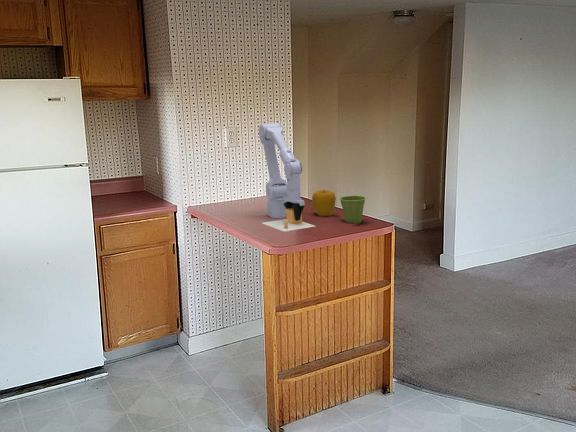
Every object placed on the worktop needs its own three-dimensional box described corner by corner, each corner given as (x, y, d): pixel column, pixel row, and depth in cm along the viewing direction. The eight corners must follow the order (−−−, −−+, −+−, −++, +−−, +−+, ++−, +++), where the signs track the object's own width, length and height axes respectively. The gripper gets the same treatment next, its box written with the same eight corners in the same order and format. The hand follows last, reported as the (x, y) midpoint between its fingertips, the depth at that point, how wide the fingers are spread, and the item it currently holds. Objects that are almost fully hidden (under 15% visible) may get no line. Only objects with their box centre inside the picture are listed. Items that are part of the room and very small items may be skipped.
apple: (307, 217, 270) (307, 190, 267) (323, 213, 277) (322, 186, 275) (325, 220, 262) (325, 192, 260) (340, 216, 270) (340, 189, 267)
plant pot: (348, 218, 264) (348, 194, 262) (371, 221, 257) (371, 197, 255) (334, 223, 256) (333, 198, 253) (356, 227, 248) (356, 201, 246)
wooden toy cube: (286, 222, 257) (286, 208, 255) (296, 220, 259) (295, 207, 258) (292, 224, 252) (292, 210, 251) (302, 222, 255) (301, 209, 254)
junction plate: (261, 225, 256) (260, 215, 255) (291, 220, 264) (291, 210, 263) (284, 233, 240) (283, 223, 239) (316, 228, 248) (315, 218, 247)
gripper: (277, 187, 257) (278, 217, 259) (294, 192, 244) (295, 223, 247) (290, 186, 260) (291, 215, 263) (308, 190, 248) (309, 221, 251)
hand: (294, 219), depth 255 cm, fingers closed on wooden toy cube, 5 cm apart
